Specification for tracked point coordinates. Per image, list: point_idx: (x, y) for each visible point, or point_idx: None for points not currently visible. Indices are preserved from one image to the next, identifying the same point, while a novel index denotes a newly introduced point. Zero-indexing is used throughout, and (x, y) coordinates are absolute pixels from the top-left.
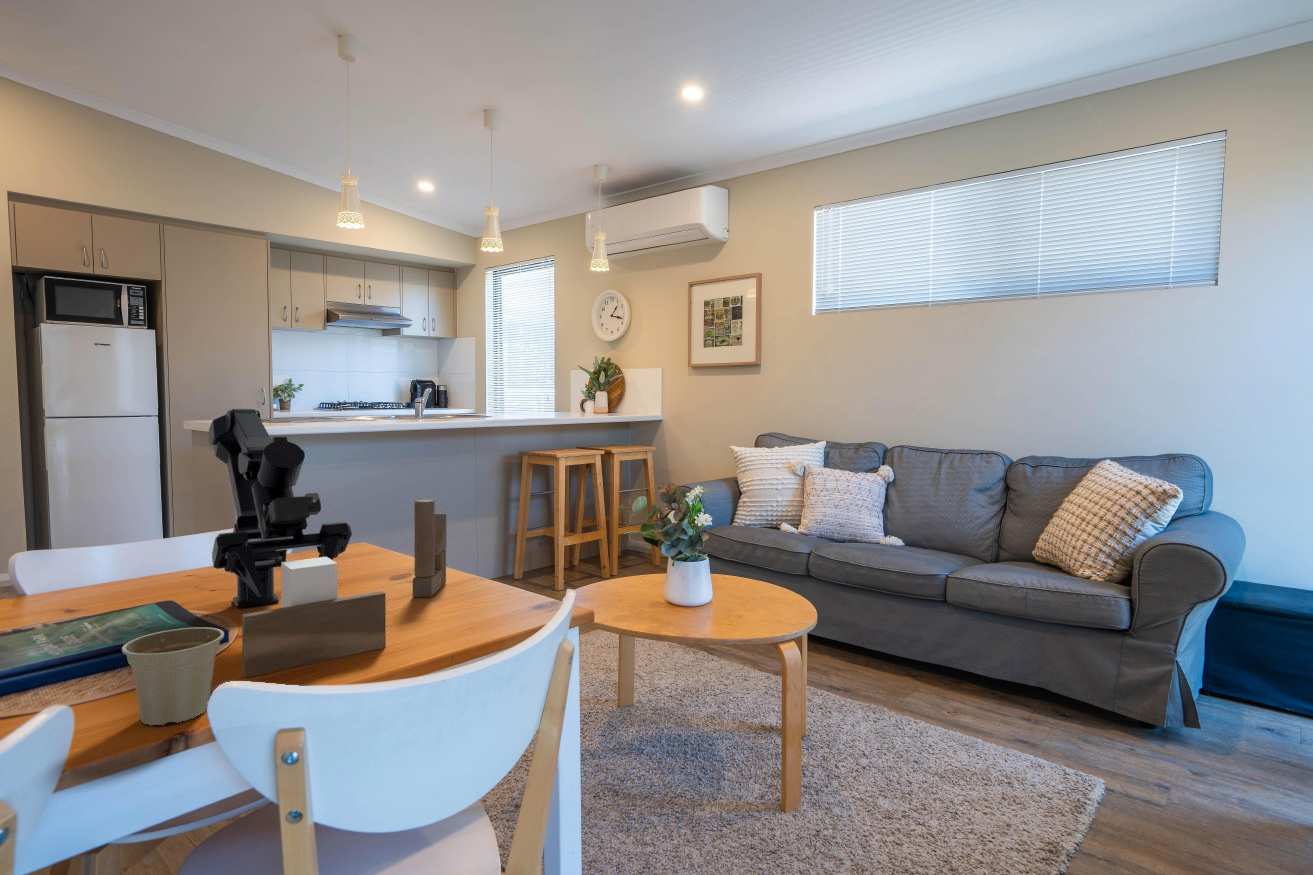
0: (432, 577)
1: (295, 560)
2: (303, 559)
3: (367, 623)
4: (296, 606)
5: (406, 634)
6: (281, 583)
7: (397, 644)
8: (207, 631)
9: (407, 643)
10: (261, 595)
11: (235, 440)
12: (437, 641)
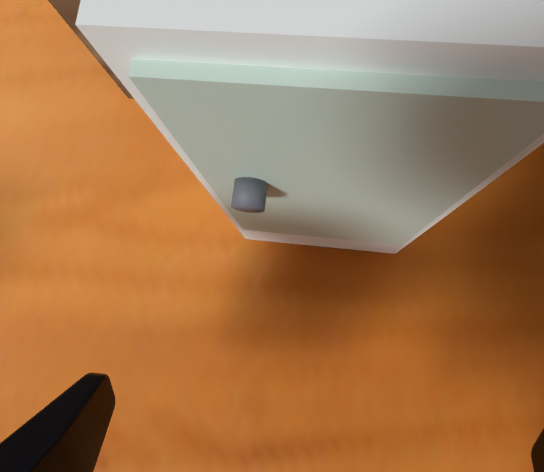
0: None
1: (465, 41)
2: (359, 36)
3: None
4: None
5: (24, 138)
6: (513, 162)
7: (96, 68)
8: None
9: (71, 57)
10: (538, 438)
11: None
12: (5, 16)
